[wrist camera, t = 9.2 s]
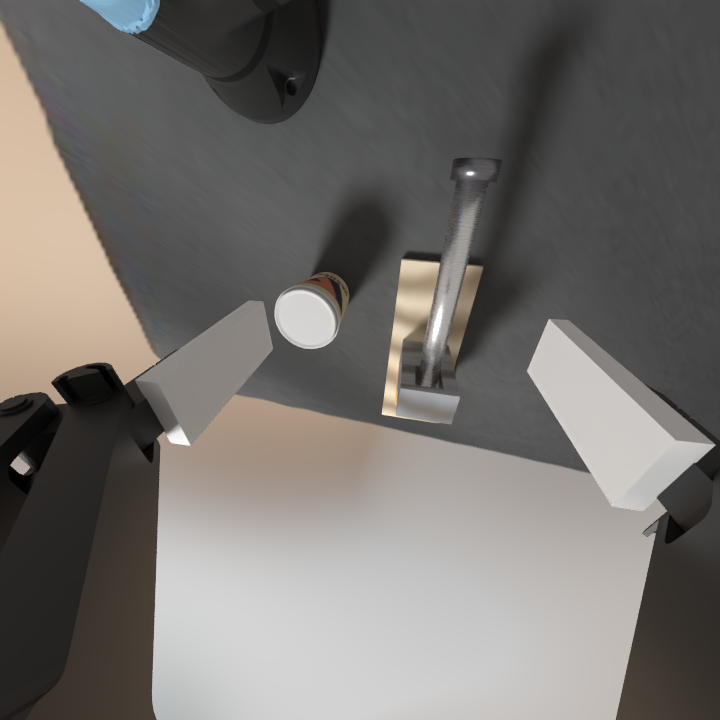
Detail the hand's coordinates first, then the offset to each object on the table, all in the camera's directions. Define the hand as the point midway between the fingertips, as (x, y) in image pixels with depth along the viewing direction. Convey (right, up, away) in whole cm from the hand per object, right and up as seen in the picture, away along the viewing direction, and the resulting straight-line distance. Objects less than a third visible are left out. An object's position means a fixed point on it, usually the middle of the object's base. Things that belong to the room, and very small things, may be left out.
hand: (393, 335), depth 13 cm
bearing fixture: (+10, 0, +36) cm, 38 cm away
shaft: (+9, +7, +22) cm, 25 cm away
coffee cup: (-7, +10, +34) cm, 36 cm away
